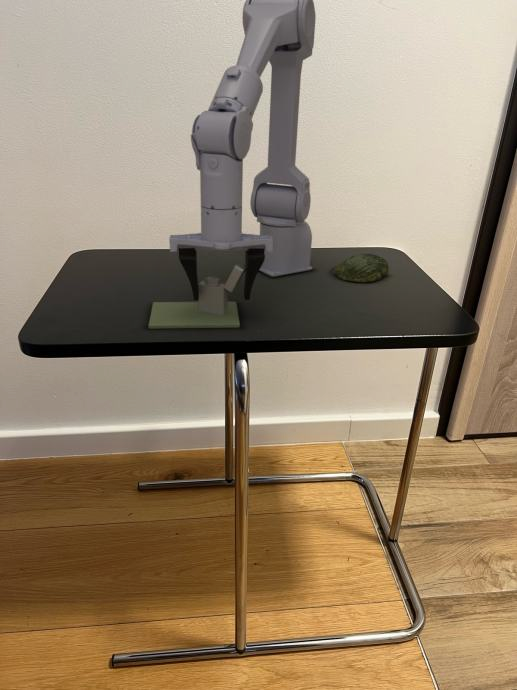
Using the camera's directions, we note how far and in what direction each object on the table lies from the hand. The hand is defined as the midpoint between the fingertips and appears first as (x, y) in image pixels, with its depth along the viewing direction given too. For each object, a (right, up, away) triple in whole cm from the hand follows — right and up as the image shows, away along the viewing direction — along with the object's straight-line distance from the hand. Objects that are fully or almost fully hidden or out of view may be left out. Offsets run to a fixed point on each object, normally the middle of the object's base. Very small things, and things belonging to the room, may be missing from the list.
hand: (221, 297), depth 81 cm
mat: (-4, -3, +1) cm, 5 cm away
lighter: (0, -2, +1) cm, 3 cm away
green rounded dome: (+25, +6, +21) cm, 33 cm away
